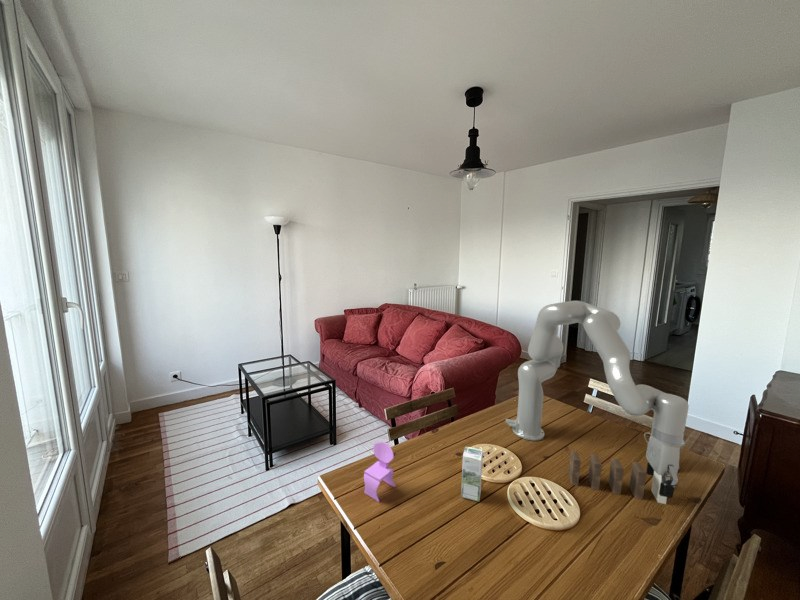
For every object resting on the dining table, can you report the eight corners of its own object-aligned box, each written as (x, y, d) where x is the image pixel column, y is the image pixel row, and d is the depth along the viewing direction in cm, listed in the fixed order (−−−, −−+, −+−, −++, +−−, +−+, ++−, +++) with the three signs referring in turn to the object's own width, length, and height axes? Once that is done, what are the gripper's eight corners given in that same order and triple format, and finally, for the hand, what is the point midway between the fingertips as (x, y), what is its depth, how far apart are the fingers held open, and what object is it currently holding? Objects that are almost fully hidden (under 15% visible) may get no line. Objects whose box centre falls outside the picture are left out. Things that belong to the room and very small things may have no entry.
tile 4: (571, 484, 107) (573, 459, 106) (568, 474, 112) (571, 450, 111) (578, 485, 107) (580, 460, 105) (575, 475, 112) (577, 451, 110)
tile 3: (591, 488, 105) (594, 463, 104) (588, 478, 110) (590, 454, 109) (598, 490, 105) (601, 464, 103) (594, 479, 110) (597, 455, 108)
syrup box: (481, 489, 104) (483, 448, 102) (479, 503, 99) (481, 459, 97) (463, 485, 106) (465, 444, 104) (460, 498, 101) (462, 455, 99)
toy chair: (360, 492, 103) (360, 448, 101) (378, 477, 110) (378, 436, 108) (380, 504, 98) (380, 459, 96) (398, 488, 105) (398, 445, 103)
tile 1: (635, 497, 102) (638, 471, 100) (629, 486, 107) (632, 461, 105) (642, 499, 101) (646, 473, 100) (636, 488, 106) (639, 463, 105)
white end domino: (657, 502, 100) (661, 476, 99) (651, 490, 105) (654, 465, 103) (665, 504, 99) (669, 477, 98) (658, 492, 104) (662, 467, 103)
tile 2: (613, 493, 104) (616, 467, 102) (608, 482, 108) (611, 457, 107) (620, 494, 103) (623, 469, 102) (615, 483, 108) (618, 459, 106)
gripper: (641, 418, 108) (634, 465, 111) (664, 448, 92) (655, 502, 95) (668, 423, 106) (660, 470, 109) (697, 454, 90) (687, 509, 92)
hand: (658, 485), depth 102 cm, fingers open, 9 cm apart
